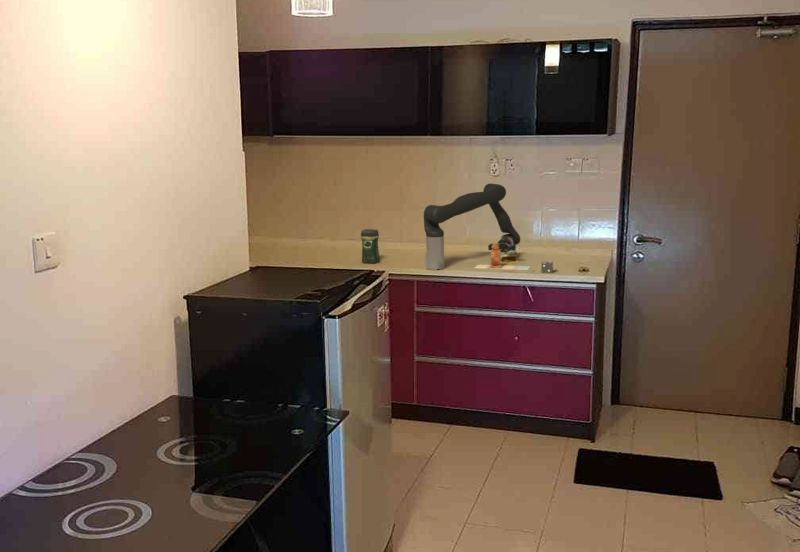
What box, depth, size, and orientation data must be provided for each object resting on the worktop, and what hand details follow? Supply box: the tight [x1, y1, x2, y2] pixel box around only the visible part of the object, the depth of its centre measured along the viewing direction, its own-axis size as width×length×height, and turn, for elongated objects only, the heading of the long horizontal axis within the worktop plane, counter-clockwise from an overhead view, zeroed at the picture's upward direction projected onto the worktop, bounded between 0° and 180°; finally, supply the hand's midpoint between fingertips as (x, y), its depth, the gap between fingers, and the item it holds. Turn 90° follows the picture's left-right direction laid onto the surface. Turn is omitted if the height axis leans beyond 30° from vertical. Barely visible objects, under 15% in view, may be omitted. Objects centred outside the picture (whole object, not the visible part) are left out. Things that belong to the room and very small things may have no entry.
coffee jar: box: [360, 228, 381, 264], centre depth 422 cm, size 10×8×19 cm
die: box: [541, 261, 554, 274], centre depth 385 cm, size 5×5×5 cm
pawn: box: [489, 243, 502, 269], centre depth 393 cm, size 6×6×12 cm
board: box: [474, 264, 531, 271], centre depth 393 cm, size 29×12×2 cm, turn 72°
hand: (499, 249), depth 403 cm, fingers open, 8 cm apart
